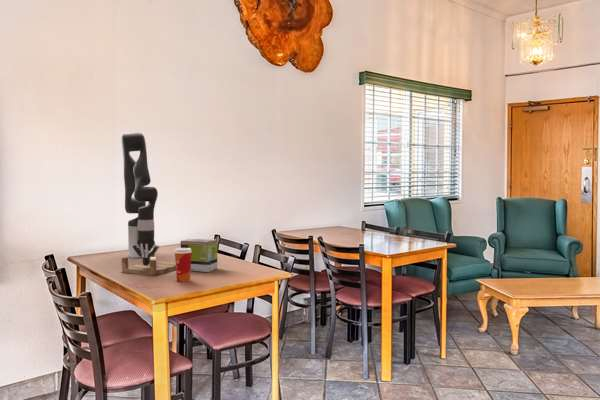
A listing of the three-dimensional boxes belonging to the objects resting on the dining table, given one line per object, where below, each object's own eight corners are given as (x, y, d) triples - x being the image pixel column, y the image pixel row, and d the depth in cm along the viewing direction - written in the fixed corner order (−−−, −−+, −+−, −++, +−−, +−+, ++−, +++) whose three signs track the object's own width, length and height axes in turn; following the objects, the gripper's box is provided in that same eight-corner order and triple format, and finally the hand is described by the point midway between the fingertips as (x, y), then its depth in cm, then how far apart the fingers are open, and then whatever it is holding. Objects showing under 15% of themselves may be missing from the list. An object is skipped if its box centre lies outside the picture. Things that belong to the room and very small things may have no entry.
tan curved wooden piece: (150, 262, 241) (150, 254, 241) (155, 262, 242) (155, 254, 242) (150, 268, 227) (150, 260, 227) (156, 268, 228) (155, 260, 227)
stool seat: (151, 264, 246) (151, 251, 246) (181, 267, 238) (181, 253, 238) (122, 272, 228) (121, 257, 228) (153, 276, 220) (152, 260, 220)
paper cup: (176, 278, 215) (175, 247, 214) (193, 278, 216) (193, 247, 215) (172, 282, 207) (172, 250, 206) (191, 282, 208) (190, 250, 207)
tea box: (218, 268, 237) (217, 238, 236) (207, 272, 228) (207, 241, 227) (191, 266, 242) (191, 237, 241) (180, 270, 233) (179, 240, 232)
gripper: (162, 228, 230) (162, 264, 231) (136, 227, 232) (136, 263, 233) (155, 230, 223) (155, 267, 224) (128, 229, 225) (129, 266, 226)
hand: (146, 265), depth 229 cm, fingers closed
